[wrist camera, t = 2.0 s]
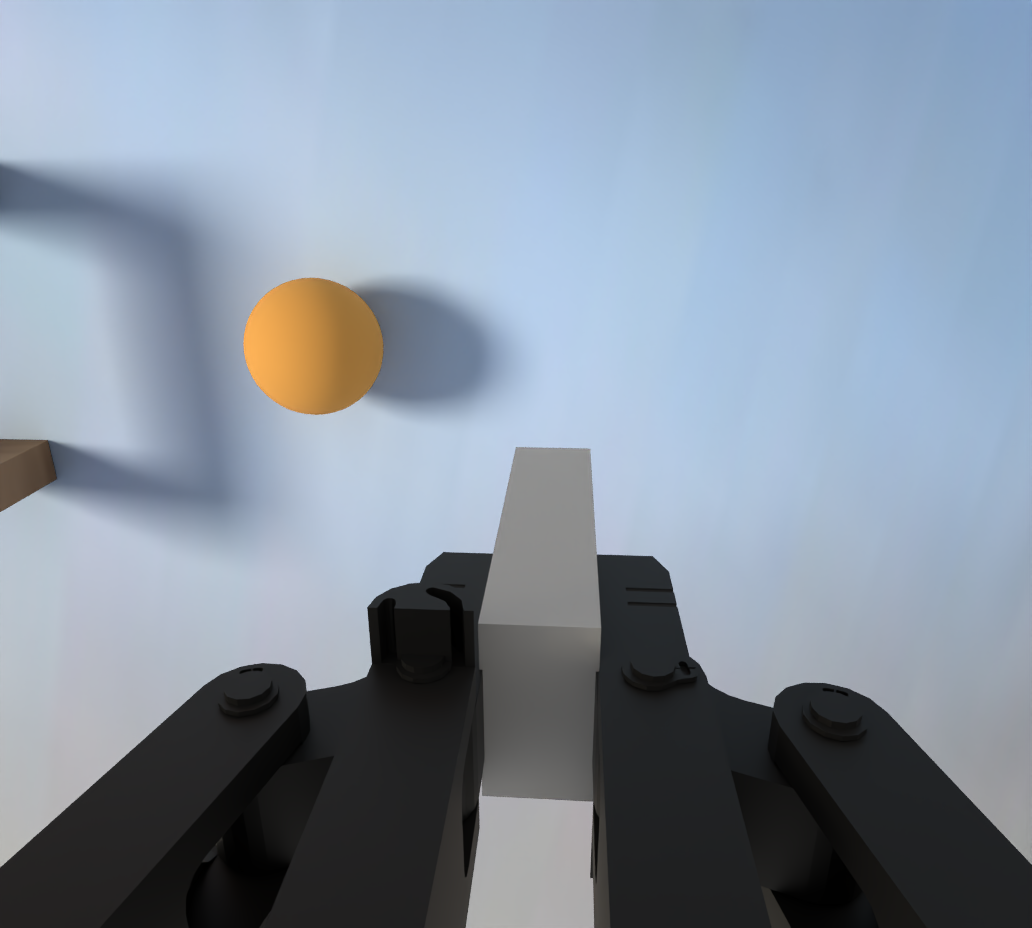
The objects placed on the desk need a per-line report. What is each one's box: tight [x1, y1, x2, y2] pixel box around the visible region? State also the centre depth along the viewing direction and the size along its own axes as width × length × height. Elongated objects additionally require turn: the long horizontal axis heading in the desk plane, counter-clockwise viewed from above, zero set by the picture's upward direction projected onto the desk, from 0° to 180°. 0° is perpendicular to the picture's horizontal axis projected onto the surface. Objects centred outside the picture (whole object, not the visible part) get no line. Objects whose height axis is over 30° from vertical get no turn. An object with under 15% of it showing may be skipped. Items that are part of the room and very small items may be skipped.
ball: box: [244, 278, 383, 415], centre depth 31 cm, size 6×6×6 cm
